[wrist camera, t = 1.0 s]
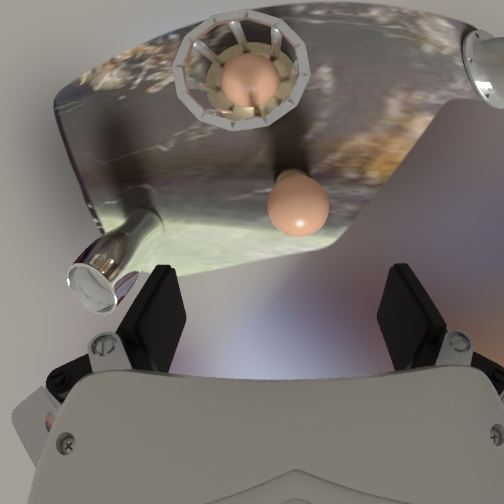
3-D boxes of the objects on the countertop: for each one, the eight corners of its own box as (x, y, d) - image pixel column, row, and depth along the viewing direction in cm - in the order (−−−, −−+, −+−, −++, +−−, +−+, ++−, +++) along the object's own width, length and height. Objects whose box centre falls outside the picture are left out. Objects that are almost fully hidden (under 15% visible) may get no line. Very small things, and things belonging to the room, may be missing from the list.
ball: (274, 55, 24) (275, 43, 18) (282, 104, 26) (285, 102, 21) (221, 63, 24) (209, 54, 19) (229, 111, 27) (219, 112, 22)
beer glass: (159, 200, 34) (100, 259, 21) (172, 246, 38) (128, 317, 25) (118, 209, 35) (55, 264, 22) (133, 251, 39) (82, 316, 26)
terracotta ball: (321, 166, 27) (333, 181, 21) (324, 219, 29) (335, 244, 24) (264, 172, 27) (262, 188, 22) (271, 224, 30) (270, 251, 25)
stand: (309, 166, 31) (315, 175, 27) (312, 200, 33) (317, 215, 29) (272, 170, 31) (272, 180, 27) (277, 204, 34) (277, 218, 29)
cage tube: (290, 39, 23) (301, -1, 12) (304, 120, 28) (324, 127, 17) (201, 53, 25) (160, 25, 14) (215, 132, 30) (181, 147, 19)
